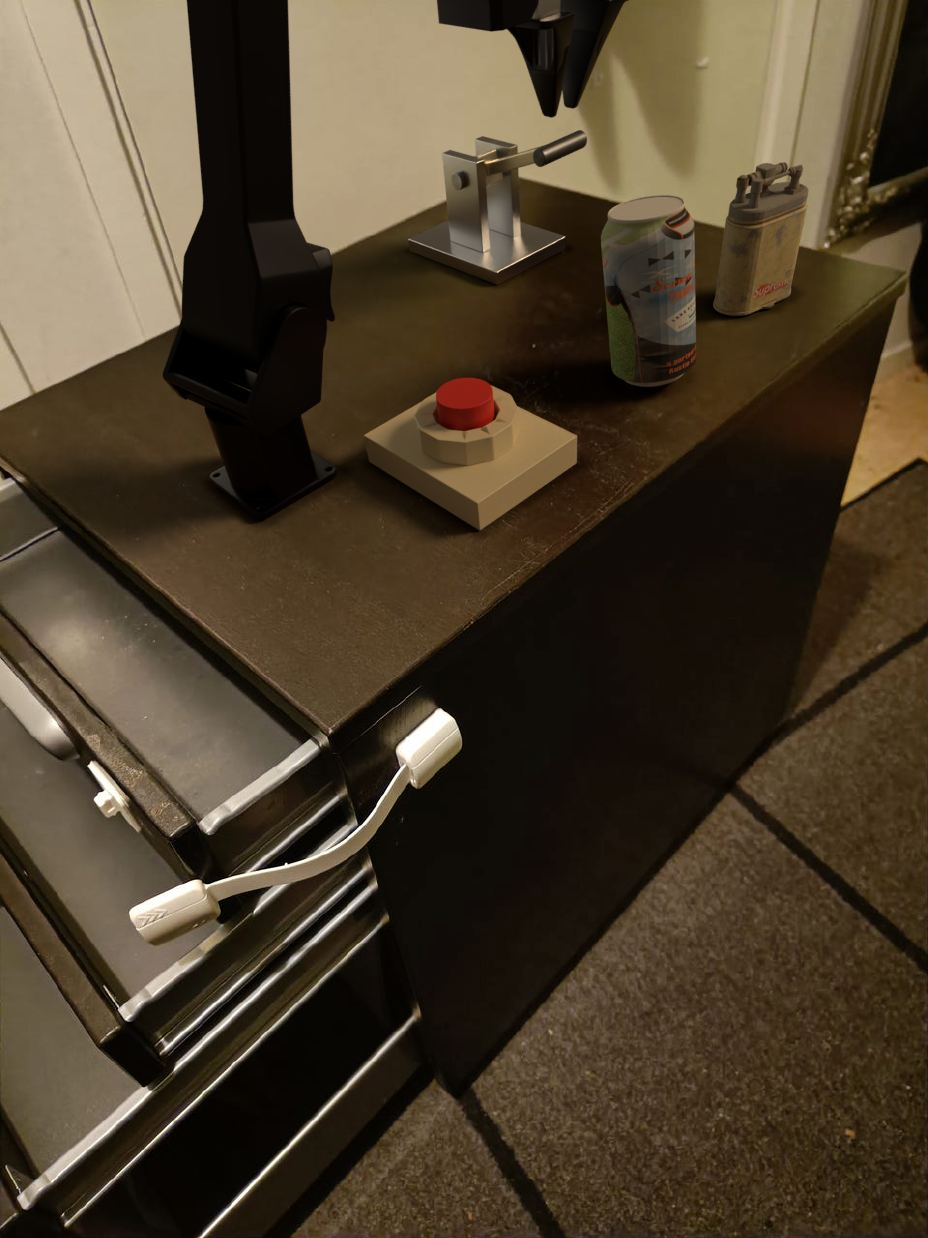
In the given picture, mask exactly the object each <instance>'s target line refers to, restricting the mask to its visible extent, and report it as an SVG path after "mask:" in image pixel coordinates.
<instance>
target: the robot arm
mask: <svg viewBox="0 0 928 1238" xmlns="http://www.w3.org/2000/svg"><path fill="white" fill-rule="evenodd" d="M629 1H630V0H436V7H437V19H438V24H441V25H446V26H453V27H459V28H465V29H472V30H478V31H484V32H491V33H492V32H501V31H502V32H503V31H506V30H507V31H508V33H510V35H512V37H513V38H514V40H515V42H516V44H517V47H518V48H519V51H520V53H521V55H522V58H523V60H524V64H525V66H526V69H527V71H528V74H529V77H530V81H531V84H532V87H533V90H534V92H535V93H534V94H535V96H536V98H537V101H538V105H539V108H540V110H541V114H542V115H543V116H544V117H547V118H551V119H552V118H555V117H556V116H557V114H558V110H559V106H560V102H561V98H562V101H563V106H564V107H565V108H568V109H572V110H573V109H576V108H577V107H578V106H579V104H580V101H581V100H582V97H583V95H584V92H585V89H586V87H587V85H588V82H589V80H590V77H591V75H592V73H593V71H594V68H595V66H596V63H597V61H598V58H599V57H600V54H601V52H602V49H603V47H604V45H605V44H606V42H607V39H608V37H609V35H610V32H611V31H612V29H613V26H614V24H615V23H616V20H617V18H618V16H619V14H620V12H621V10H622V8H623V6H624V4H625V3H626V2H629ZM186 9H187V21H188V23H187V24H188V34H189V46H190V59H191V70H192V82H193V84H192V85H193V94H194V95H193V96H194V105H195V106H194V107H195V119H196V131H197V132H196V133H197V144H198V155H199V169H200V179H201V180H200V181H201V193H202V209H201V213H200V216H199V219H198V221H197V224H196V225H195V228H194V231H193V233H192V235H191V237H190V240H189V243H188V245H187V247H186V249H185V252H184V255H183V262H182V263H183V265H182V286H181V287H182V288H181V319H180V322H179V325H178V327H177V329H176V333H175V336H174V339H173V342H172V345H171V348H170V351H169V354H168V356H167V359H166V361H165V365H164V368H163V370H162V378H163V380H164V381H165V383H166V384H168V386H169V387H170V388H171V389H172V390H173V391H174V392H175V393H176V395H177V396H178V397H179V398H181V399H183V400H185V401H187V400H189V401H191V402H193V403H195V404H198V405H200V406H202V407H203V408H204V415H205V416H206V419H207V423H208V425H209V427H210V430H211V434H212V435H213V438H214V442H215V444H216V447H217V449H218V452H219V455H220V457H221V460H222V463H223V466H222V467H220V468H218V469H217V470H215V471H212V472H211V473H210V474H209V481H210V483H211V484H212V485H213V486H215V487H216V488H217V489H219V490H220V491H221V492H222V493H224V494H225V495H226V496H228V497H229V498H230V499H232V500H233V501H234V502H235V503H237V504H238V505H239V506H240V507H242V508H243V509H244V510H246V511H247V512H248V513H250V514H251V515H252V516H253V517H255V518H256V519H258V520H265V519H267V518H269V517H270V516H272V515H274V514H275V513H277V512H279V511H281V510H282V509H283V508H285V507H287V506H289V505H291V504H292V503H294V502H296V501H297V500H299V499H301V498H302V497H304V496H305V495H307V494H309V493H310V492H312V491H314V490H315V489H317V488H319V487H320V486H323V485H324V484H325V483H327V482H328V481H331V480H332V479H334V478H336V477H337V475H338V469H337V466H336V465H334V464H333V463H331V462H330V461H328V460H327V459H326V458H324V457H322V456H320V455H319V454H317V453H316V452H314V451H313V450H311V447H310V443H309V439H308V436H307V432H306V429H305V425H304V421H303V418H302V415H303V414H305V413H306V412H308V411H309V410H311V409H312V408H314V407H315V406H317V405H318V404H320V403H321V401H322V387H323V370H324V369H323V367H324V350H325V346H326V343H327V334H328V321H329V322H332V323H333V322H335V320H336V315H335V312H334V308H333V306H332V295H331V287H332V278H333V270H334V264H333V263H334V262H333V258H332V254H331V251H330V249H329V248H328V247H325V246H321V245H319V244H314V243H311V242H307V240H306V237H305V235H304V233H303V231H302V229H301V227H300V225H299V222H298V221H297V217H296V213H295V207H294V171H293V170H294V168H293V166H294V165H293V134H292V133H293V132H292V130H293V129H292V94H291V93H292V92H291V91H292V90H291V59H290V58H291V57H290V26H289V25H290V20H289V0H186Z"/></svg>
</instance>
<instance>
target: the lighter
mask: <svg viewBox="0 0 928 1238" xmlns="http://www.w3.org/2000/svg"><path fill="white" fill-rule="evenodd" d="M803 171H804V167H803V164H798V165H795V166H791V167H789V165H788V163H787V162H786V161H785V162H779V163H776V164H774V163H770V162H764V163H763V162H762V163H760V164H758V165H756V166H755V172H751V173H748V174H741V175H739V176H738V177H737V178H736V183H735V184H736V185H735V187H736V193H735V197H734V198H733V199H732V201H731V202H730V203H729V206H728V214H727V216H726V218H725V222H724V229H723V236H722V237H723V238H722V243H721V252H720V257H719V266H718V274H717V281H716V288H715V295H714V296H715V297H714V300H713V303H712V307H713V309H714V310H715V311H716V312H717V313H720V314H723V315H726V316H732V317H733V316H735V317H738V316H739V317H740V316H747V315H750V314H753V313H754V312H757V311H759V310H768V309H771V308H773V307H774V306H775V303H778V302H780V301H782V300H785V299H787V298H789V297H790V296H791V293H792V283H793V278H794V273H795V270H796V264H797V261H798V260H797V258H798V255H799V250H800V246H801V245H800V244H801V241H802V236H803V230H804V226H805V219H806V216H807V210H808V204H807V202H808V196H809V188H808V187H807V186H806V185H805V184H803V183H800V181H801V177H802V175H803ZM786 176H788V177H790V181H782V182H775V181H776V180H778V179H781V178H784V177H786ZM749 187H750V190H749V192H748V193H747V189H748V188H749Z"/></svg>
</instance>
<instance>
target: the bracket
mask: <svg viewBox="0 0 928 1238" xmlns="http://www.w3.org/2000/svg"><path fill="white" fill-rule="evenodd" d="M474 149H475V155H471V154H466V153H463V152H460V151H456V150H452V149H448V150H446V151H443V152H442V153H441V157H442V168H443V169H442V170H443V179H444V188H445V198H446V199H445V200H446V210H447V220H445V221H444V222H442V223H440V224H437V225H435V226H433V227H431V228H429V229H426V230H424V231H422V232H420V233H418V234H415V235H413V236H412V237H409V238H408V239H407V241H408V248H409V251H410V253H414V254H417V255H419V256H421V257H424V258H426V259H429V260H432V261H434V262H437V263H440V264H442V265H445V266H448V267H450V268H452V269H455V270H457V271H460V272H463V273H466V274H468V275H470V276H473V277H475V278H478V279H481V280H483V281H486V282H489V283H491V284H494V285H496V286H498V285H500V284H503V283H504V282H506V281H508V280H510V279H512V278H514V277H516V276H518V275H520V274H521V273H523V272H525V271H527V270H529V269H531V268H532V267H535V266H536V265H538V264H540V263H542V262H544V261H546V260H548V259H549V258H551V257H553V256H555V255H557V254H559V253H562V251H564V250H566V248H567V247H566V239H567V238H566V235H562V234H559V233H557V232H553V231H549V230H547V229H544V228H541V227H537V226H534V225H531V224H528V223H526V222H522V221H521V203H520V176H519V175H520V174H519V168H516V169H513V170H509V171H505V172H502V174H503V178H504V179H502V180H500V181H498V182H496V183H494V184H491V185H489V186H487V187H486V174H485V160H484V159H481V158H478V157H474V156H476V155H480V154H483V153H486V152H489V151H492V150H496V152H497V156H498V159H499V158H503V157H506V156H509V155H513V154H516V153H519V148H518V144H515V143H512V142H507V141H504V140H500V139H496V138H493V137H488V136H483V135H482V136H479V137H477V138H475V139H474Z"/></svg>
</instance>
